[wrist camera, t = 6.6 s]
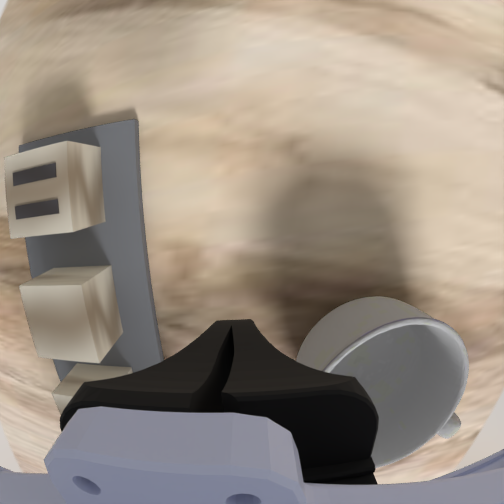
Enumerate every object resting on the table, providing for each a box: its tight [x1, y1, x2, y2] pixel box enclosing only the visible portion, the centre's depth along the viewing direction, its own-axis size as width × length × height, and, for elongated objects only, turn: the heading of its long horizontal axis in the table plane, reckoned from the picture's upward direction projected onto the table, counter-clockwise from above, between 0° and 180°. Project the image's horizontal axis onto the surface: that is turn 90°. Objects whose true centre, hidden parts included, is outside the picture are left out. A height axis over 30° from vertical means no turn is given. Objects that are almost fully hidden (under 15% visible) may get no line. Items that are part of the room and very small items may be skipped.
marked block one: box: [52, 363, 133, 414], centre depth 21 cm, size 5×5×5 cm
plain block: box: [19, 265, 123, 363], centre depth 19 cm, size 5×5×4 cm
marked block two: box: [4, 141, 106, 239], centre depth 17 cm, size 5×5×5 cm
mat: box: [19, 119, 164, 382], centre depth 22 cm, size 24×10×1 cm, turn 3°
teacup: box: [296, 296, 469, 468], centre depth 19 cm, size 14×11×8 cm
